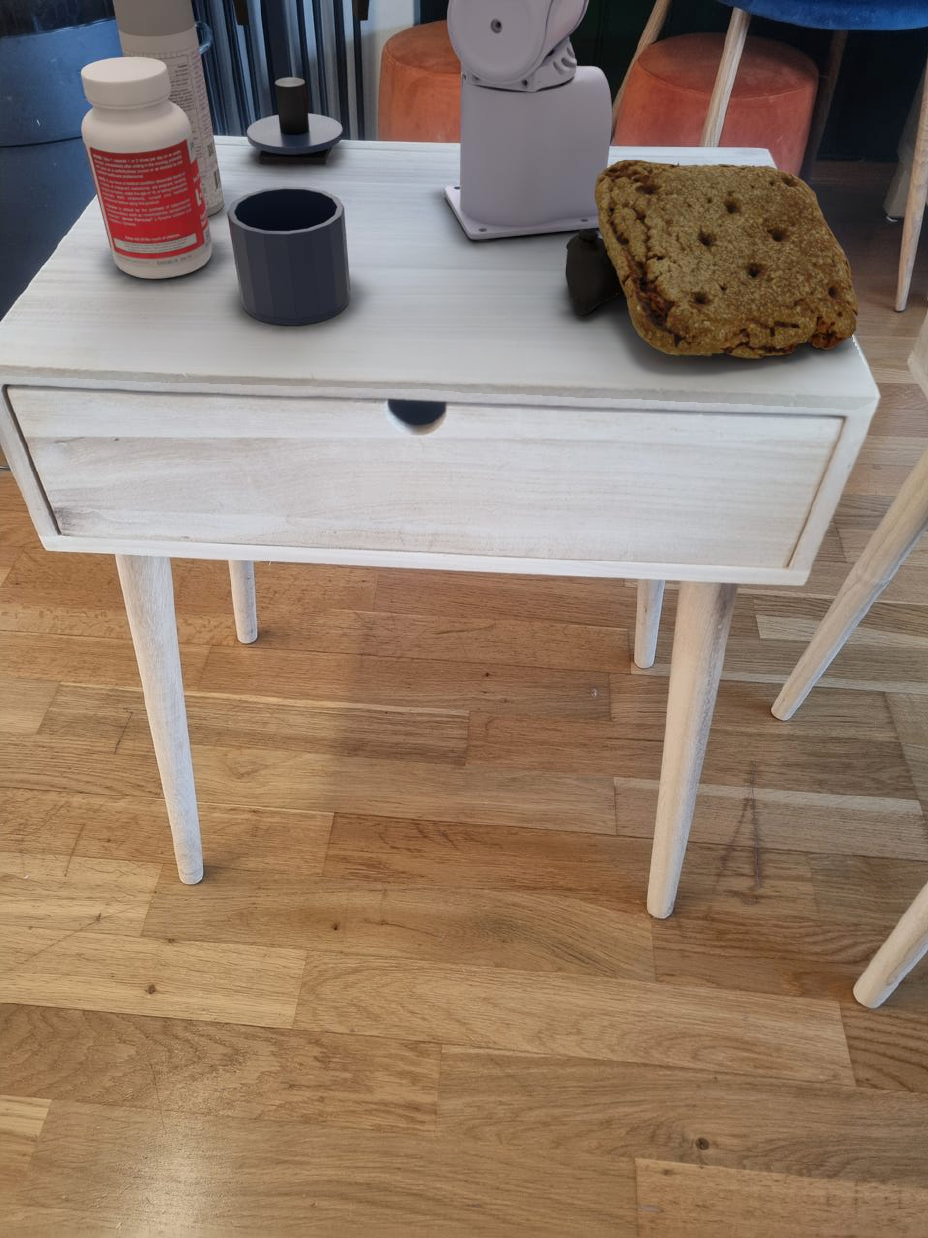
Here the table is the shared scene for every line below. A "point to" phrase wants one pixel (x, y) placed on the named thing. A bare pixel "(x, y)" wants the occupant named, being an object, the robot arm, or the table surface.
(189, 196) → the pill bottle
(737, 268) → the pastry
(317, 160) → the coaster
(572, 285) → the gaming controller
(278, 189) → the tin
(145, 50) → the container
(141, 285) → the table surface
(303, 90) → the lid
